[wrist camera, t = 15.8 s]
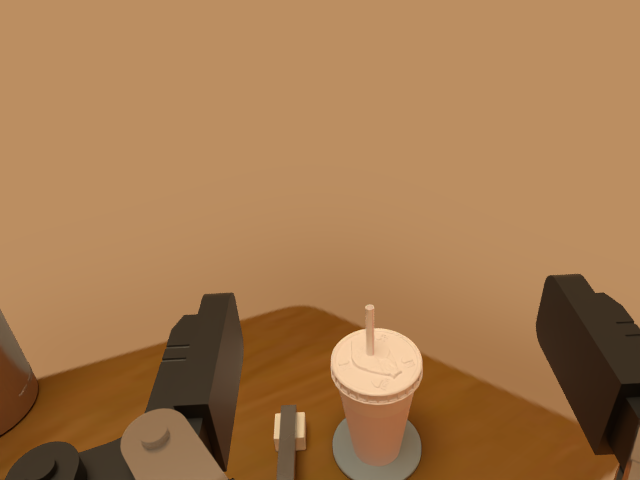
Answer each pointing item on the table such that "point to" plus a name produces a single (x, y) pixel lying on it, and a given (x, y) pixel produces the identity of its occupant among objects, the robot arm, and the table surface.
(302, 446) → the hurdle stand
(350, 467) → the pad
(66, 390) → the table surface
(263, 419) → the table surface
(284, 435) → the steel bar
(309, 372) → the table surface
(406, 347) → the smoothie
